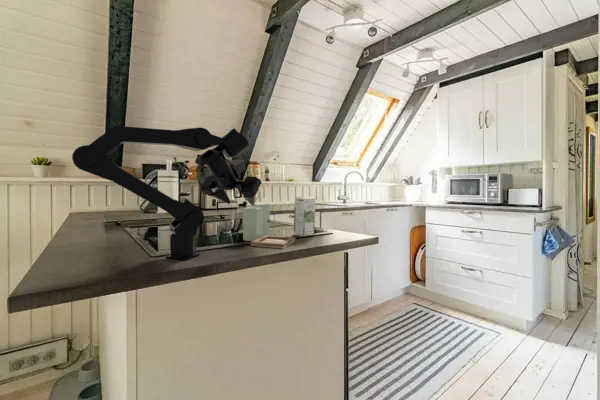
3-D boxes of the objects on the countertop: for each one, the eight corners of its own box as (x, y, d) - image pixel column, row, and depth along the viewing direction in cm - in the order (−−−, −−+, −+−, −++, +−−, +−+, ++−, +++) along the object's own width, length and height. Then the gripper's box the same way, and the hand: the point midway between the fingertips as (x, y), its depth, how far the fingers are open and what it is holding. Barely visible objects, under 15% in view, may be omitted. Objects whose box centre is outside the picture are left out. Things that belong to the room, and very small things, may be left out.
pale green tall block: (256, 241, 101) (256, 209, 100) (243, 240, 102) (243, 208, 101) (262, 238, 105) (262, 207, 105) (249, 237, 107) (249, 207, 106)
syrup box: (304, 233, 117) (305, 196, 116) (314, 235, 112) (315, 197, 111) (293, 234, 113) (293, 196, 112) (303, 237, 109) (304, 197, 108)
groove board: (283, 248, 91) (283, 244, 91) (250, 245, 94) (250, 241, 94) (295, 240, 102) (295, 237, 102) (265, 238, 106) (265, 235, 106)
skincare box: (256, 237, 107) (257, 204, 106) (249, 236, 110) (249, 203, 109) (270, 235, 111) (270, 203, 110) (263, 234, 114) (263, 202, 113)
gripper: (258, 148, 86) (275, 186, 97) (206, 150, 93) (227, 185, 104) (243, 175, 79) (263, 212, 90) (188, 175, 86) (213, 209, 97)
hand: (241, 203), depth 96 cm, fingers open, 9 cm apart
